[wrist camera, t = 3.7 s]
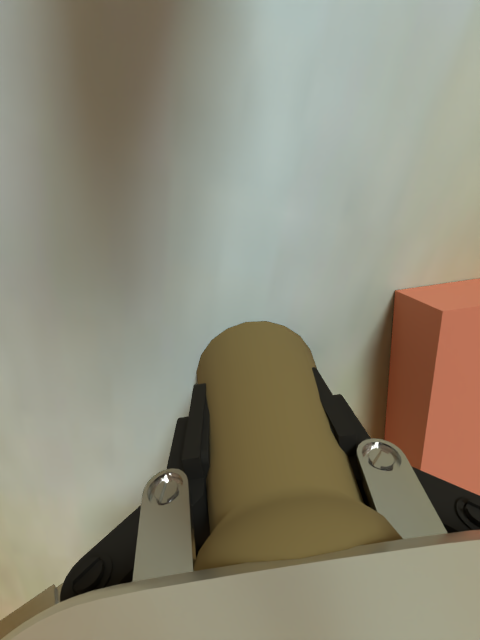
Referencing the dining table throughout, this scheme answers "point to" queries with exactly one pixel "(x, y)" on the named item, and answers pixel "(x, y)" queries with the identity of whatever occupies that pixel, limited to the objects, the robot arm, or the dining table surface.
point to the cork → (275, 456)
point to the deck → (437, 381)
